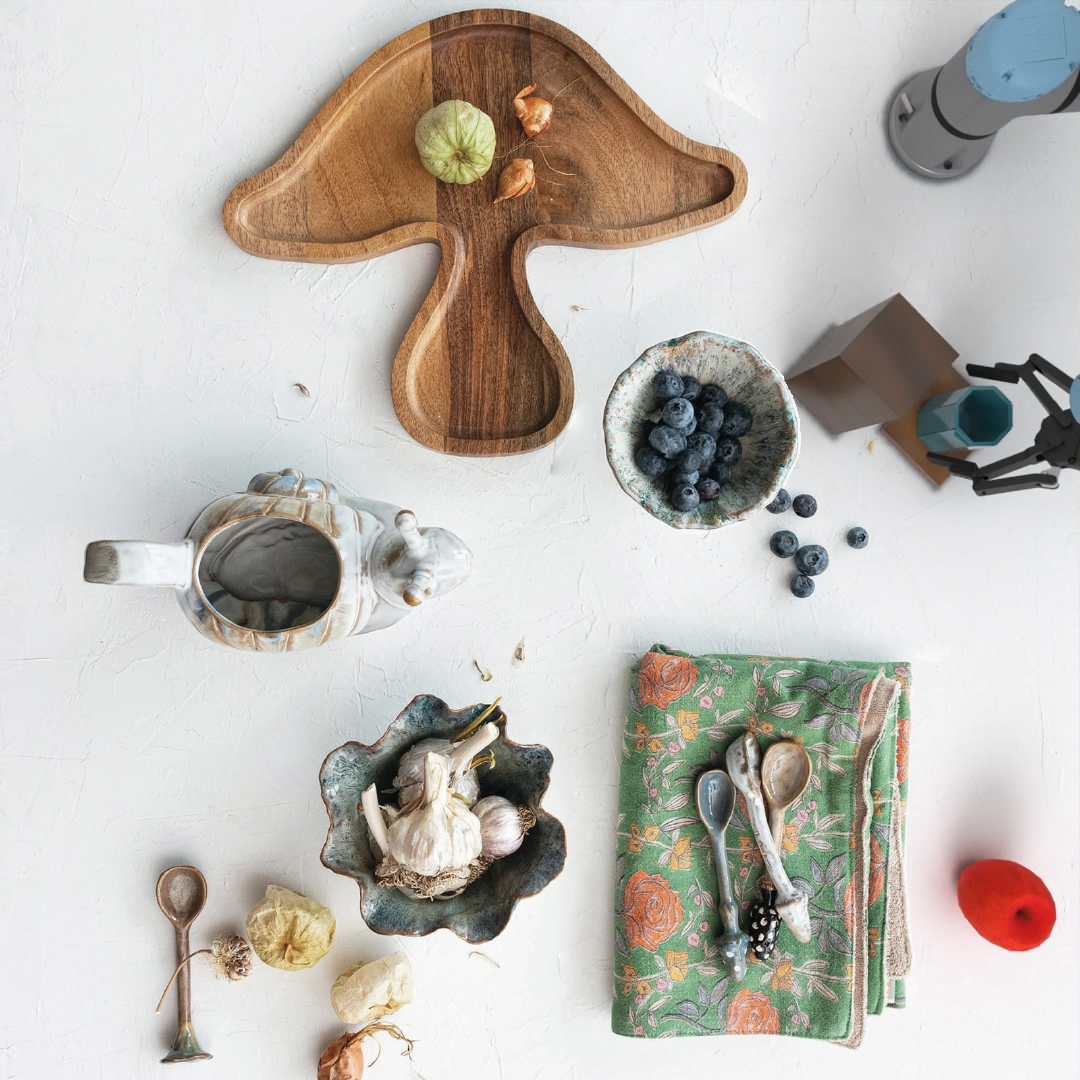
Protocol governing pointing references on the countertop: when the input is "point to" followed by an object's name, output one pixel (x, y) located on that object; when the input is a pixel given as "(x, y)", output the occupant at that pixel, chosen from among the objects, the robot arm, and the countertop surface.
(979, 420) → the cup
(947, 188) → the countertop surface
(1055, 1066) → the countertop surface
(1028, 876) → the apple
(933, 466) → the mat
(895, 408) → the block
